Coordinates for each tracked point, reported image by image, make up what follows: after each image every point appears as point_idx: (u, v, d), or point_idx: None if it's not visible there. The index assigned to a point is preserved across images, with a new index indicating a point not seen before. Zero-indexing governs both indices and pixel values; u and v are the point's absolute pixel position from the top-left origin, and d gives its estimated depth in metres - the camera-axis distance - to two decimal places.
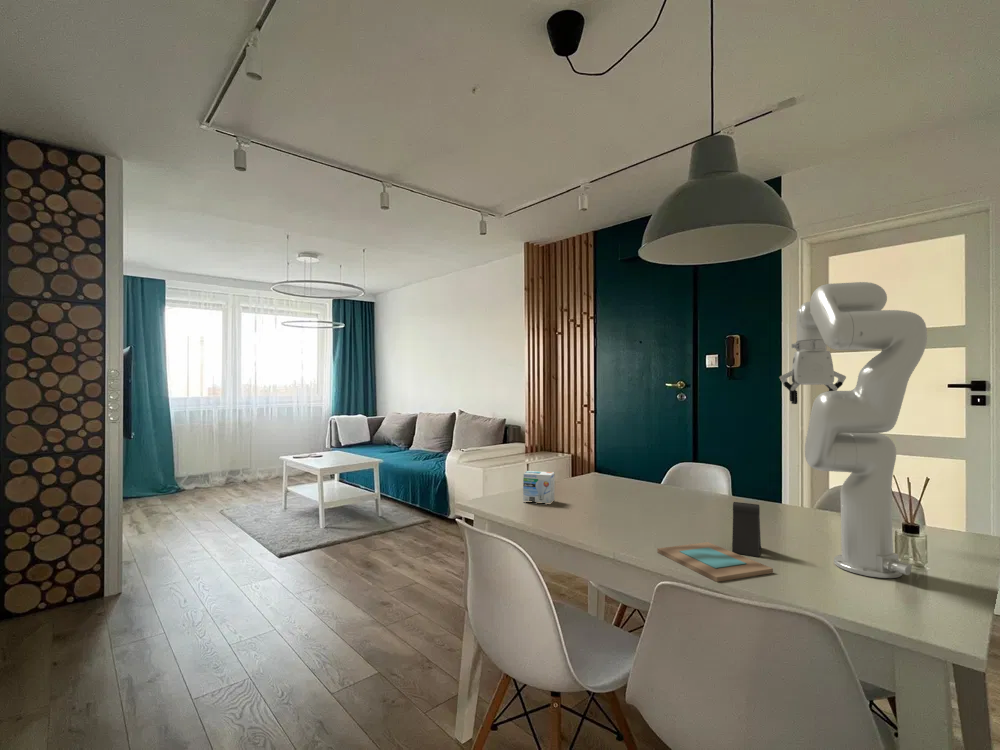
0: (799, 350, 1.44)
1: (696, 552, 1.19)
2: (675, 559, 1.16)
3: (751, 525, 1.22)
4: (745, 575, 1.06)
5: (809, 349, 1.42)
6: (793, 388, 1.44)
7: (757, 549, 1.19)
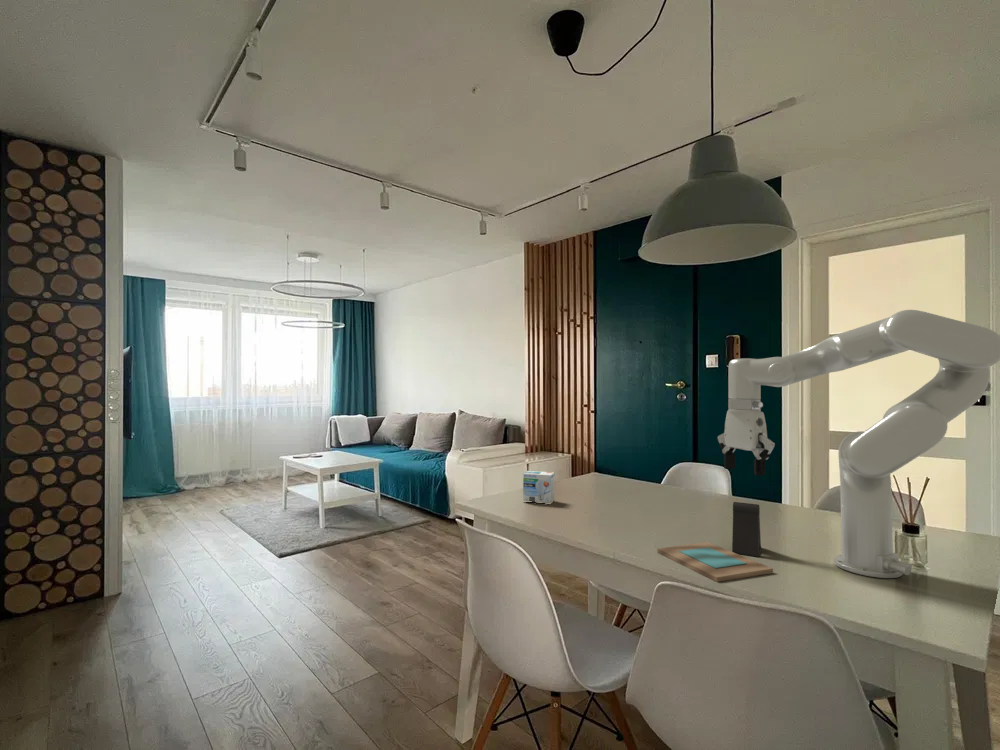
0: (759, 410, 1.22)
1: (696, 552, 1.19)
2: (675, 559, 1.16)
3: (751, 525, 1.22)
4: (745, 575, 1.06)
5: None
6: None
7: (757, 549, 1.19)
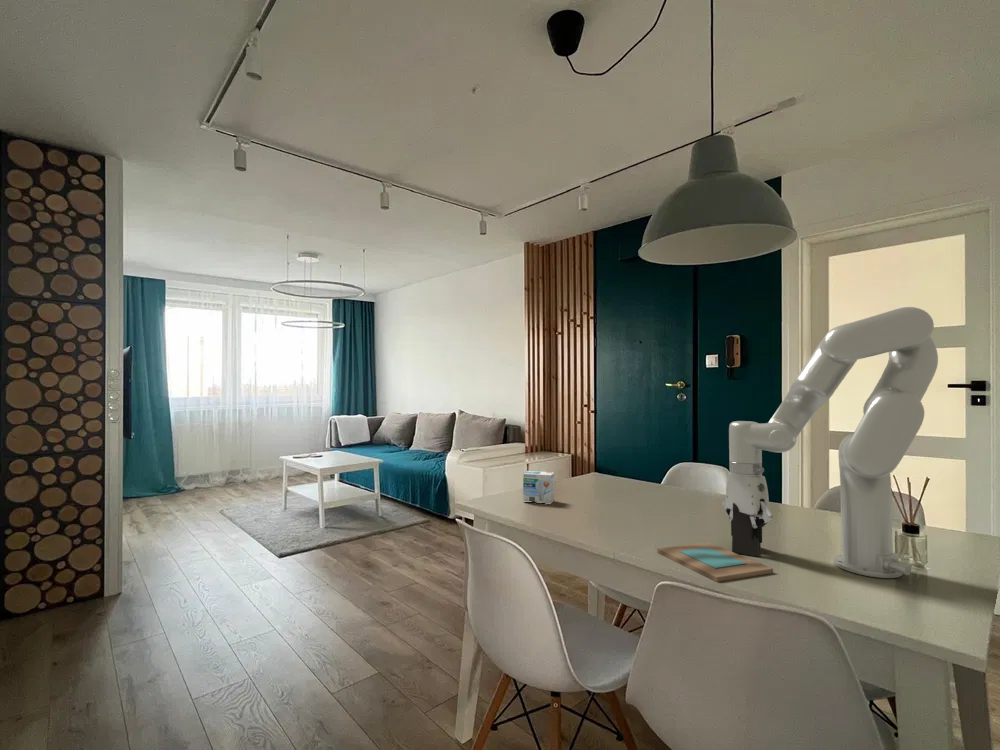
0: (760, 474, 1.22)
1: (696, 552, 1.19)
2: (675, 559, 1.16)
3: (751, 525, 1.22)
4: (745, 575, 1.06)
5: None
6: None
7: (757, 549, 1.19)
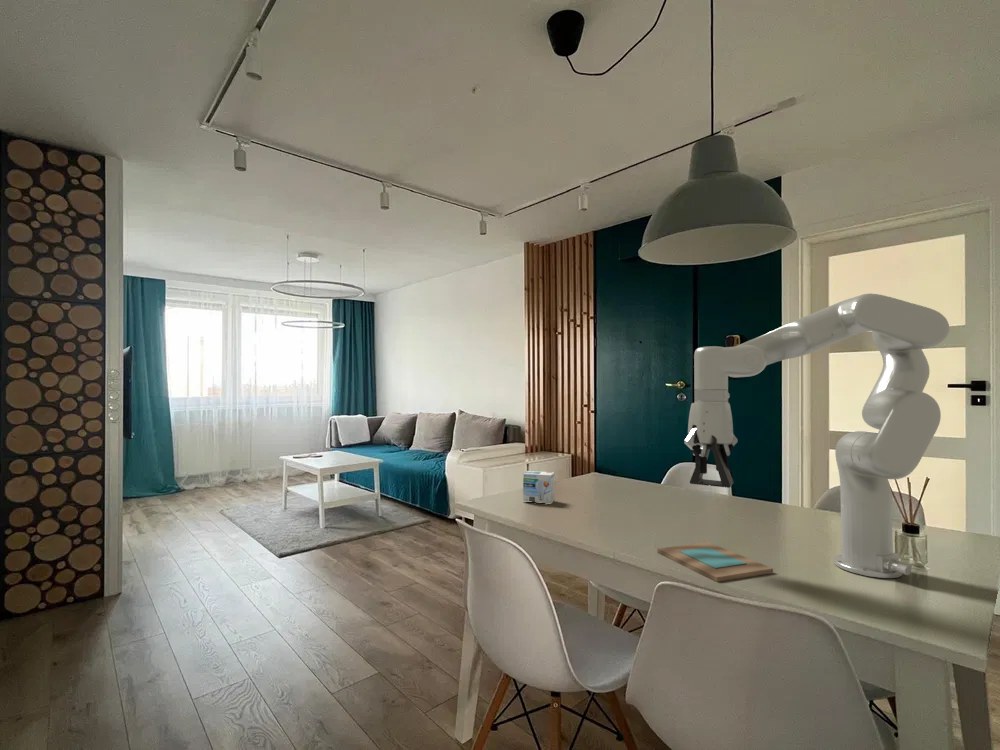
0: None
1: (696, 552, 1.19)
2: (675, 559, 1.16)
3: (721, 454, 1.16)
4: (745, 575, 1.06)
5: None
6: None
7: None
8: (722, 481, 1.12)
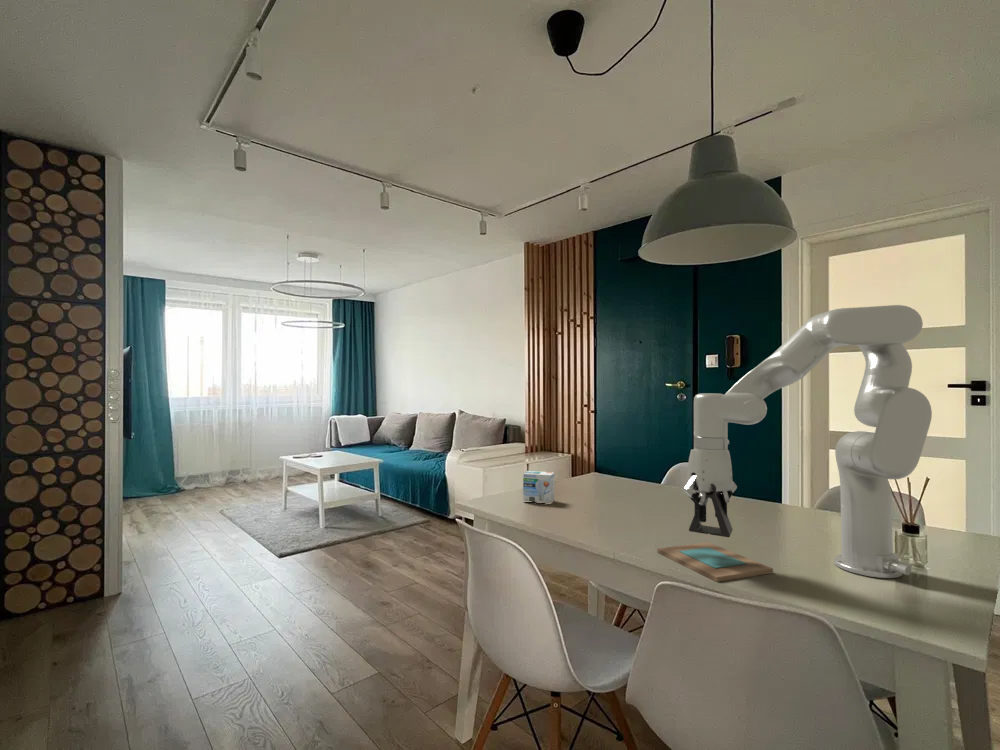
0: None
1: (696, 552, 1.19)
2: (675, 559, 1.16)
3: (720, 501, 1.16)
4: (745, 575, 1.06)
5: None
6: None
7: None
8: (721, 530, 1.12)
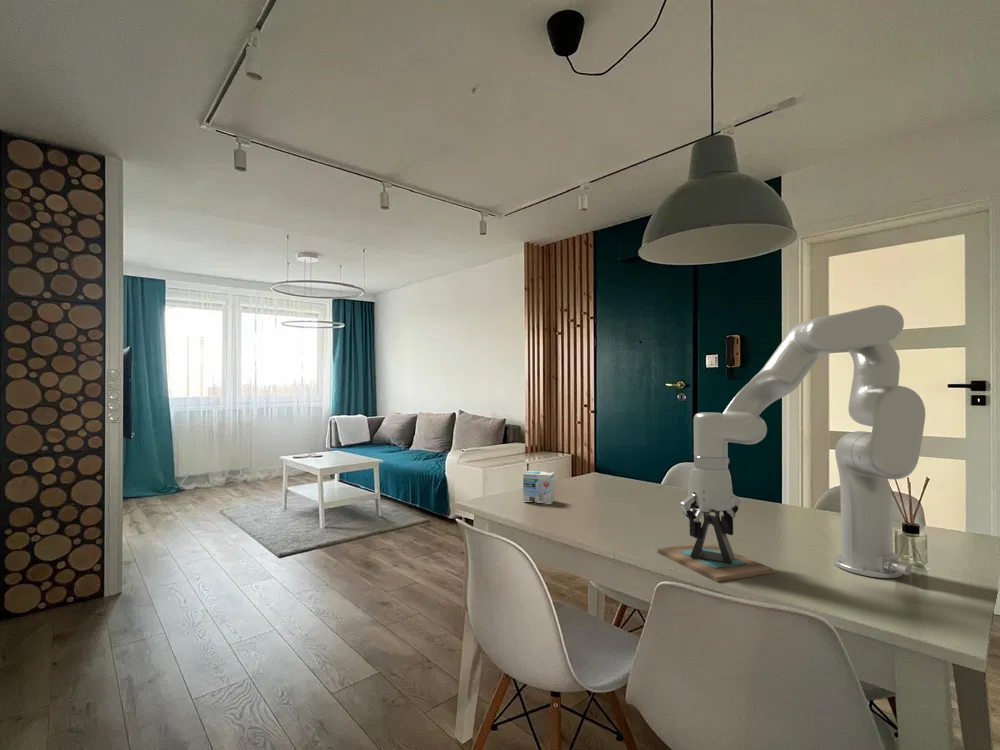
0: None
1: None
2: (675, 559, 1.16)
3: (722, 527, 1.16)
4: (745, 575, 1.06)
5: None
6: None
7: (731, 549, 1.16)
8: (723, 557, 1.11)
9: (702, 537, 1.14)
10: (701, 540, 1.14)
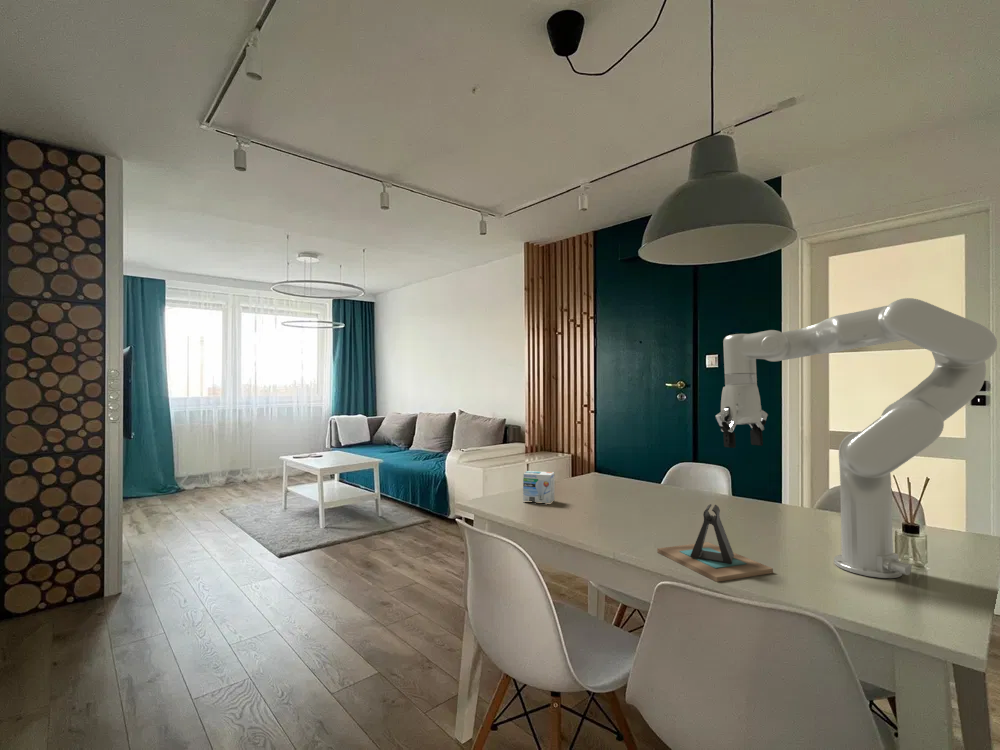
0: None
1: None
2: (675, 559, 1.16)
3: (722, 527, 1.16)
4: (745, 575, 1.06)
5: None
6: None
7: (731, 549, 1.16)
8: (723, 557, 1.11)
9: (702, 537, 1.14)
10: (701, 540, 1.14)
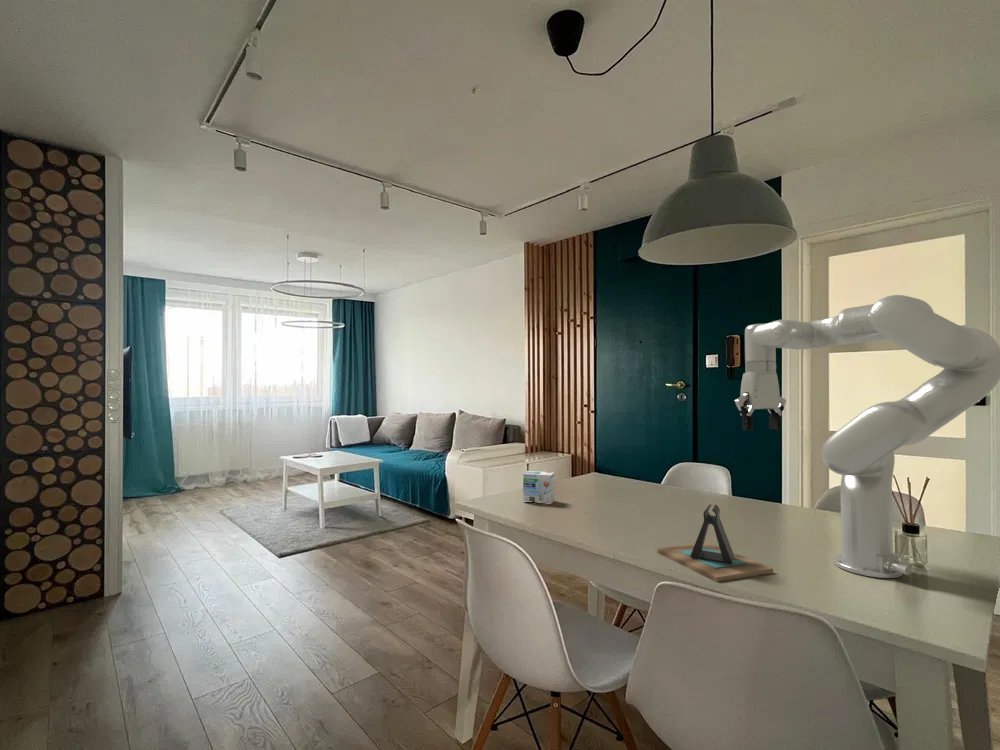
0: None
1: None
2: (675, 559, 1.16)
3: (722, 527, 1.16)
4: (745, 575, 1.06)
5: None
6: None
7: (731, 549, 1.16)
8: (723, 557, 1.11)
9: (702, 537, 1.14)
10: (701, 540, 1.14)
